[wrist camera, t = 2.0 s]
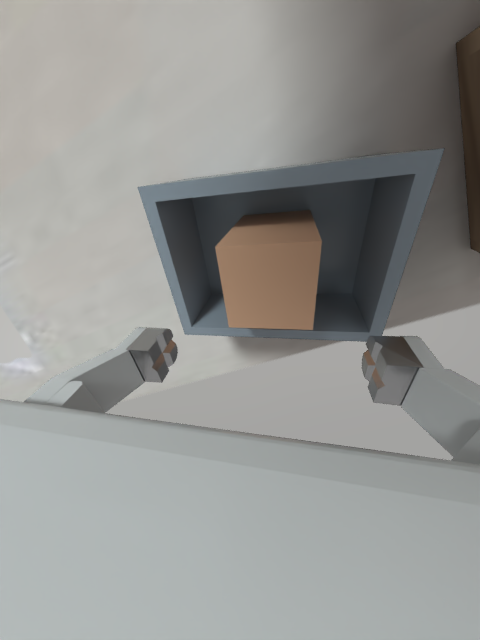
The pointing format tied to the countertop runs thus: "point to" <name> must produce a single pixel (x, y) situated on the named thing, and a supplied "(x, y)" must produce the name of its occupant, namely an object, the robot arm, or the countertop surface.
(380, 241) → the blue-grey storage bin
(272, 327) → the block
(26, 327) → the countertop surface
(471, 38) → the tray
